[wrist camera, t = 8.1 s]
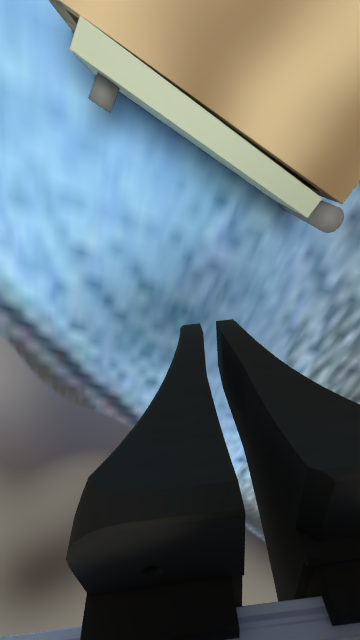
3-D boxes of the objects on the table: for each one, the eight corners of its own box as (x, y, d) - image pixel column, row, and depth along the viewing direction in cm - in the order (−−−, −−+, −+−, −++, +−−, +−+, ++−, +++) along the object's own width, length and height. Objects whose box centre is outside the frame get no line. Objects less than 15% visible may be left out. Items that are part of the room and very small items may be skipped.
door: (304, 196, 18) (349, 214, 14) (281, 227, 19) (317, 252, 15) (102, 48, 14) (80, 10, 10) (86, 95, 15) (59, 79, 11)
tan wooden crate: (389, 57, 15) (479, 26, 11) (298, 188, 18) (342, 203, 14) (136, -197, 11) (124, -410, 7) (71, 29, 14) (34, -18, 10)
